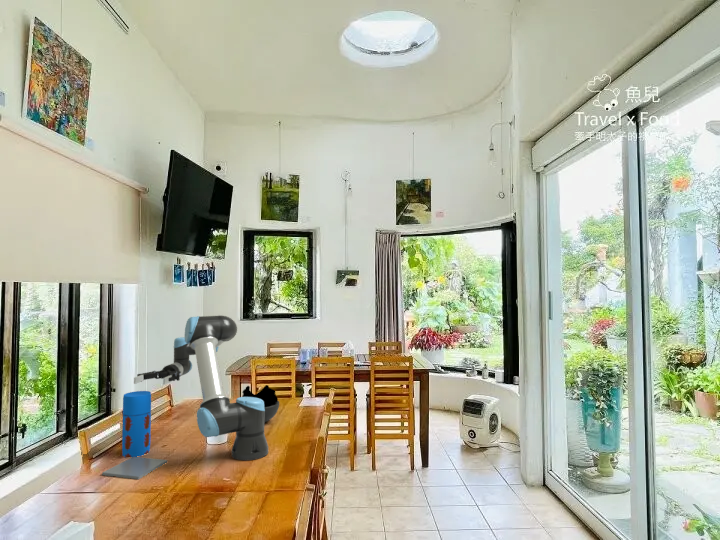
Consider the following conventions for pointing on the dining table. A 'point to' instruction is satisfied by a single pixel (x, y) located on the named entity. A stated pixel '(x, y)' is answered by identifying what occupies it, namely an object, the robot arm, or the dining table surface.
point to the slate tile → (134, 467)
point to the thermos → (136, 423)
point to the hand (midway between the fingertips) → (149, 381)
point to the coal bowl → (265, 400)
